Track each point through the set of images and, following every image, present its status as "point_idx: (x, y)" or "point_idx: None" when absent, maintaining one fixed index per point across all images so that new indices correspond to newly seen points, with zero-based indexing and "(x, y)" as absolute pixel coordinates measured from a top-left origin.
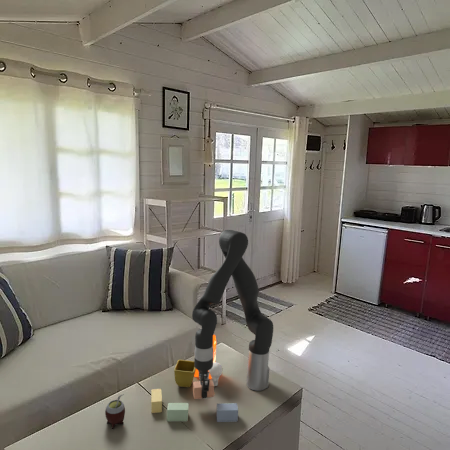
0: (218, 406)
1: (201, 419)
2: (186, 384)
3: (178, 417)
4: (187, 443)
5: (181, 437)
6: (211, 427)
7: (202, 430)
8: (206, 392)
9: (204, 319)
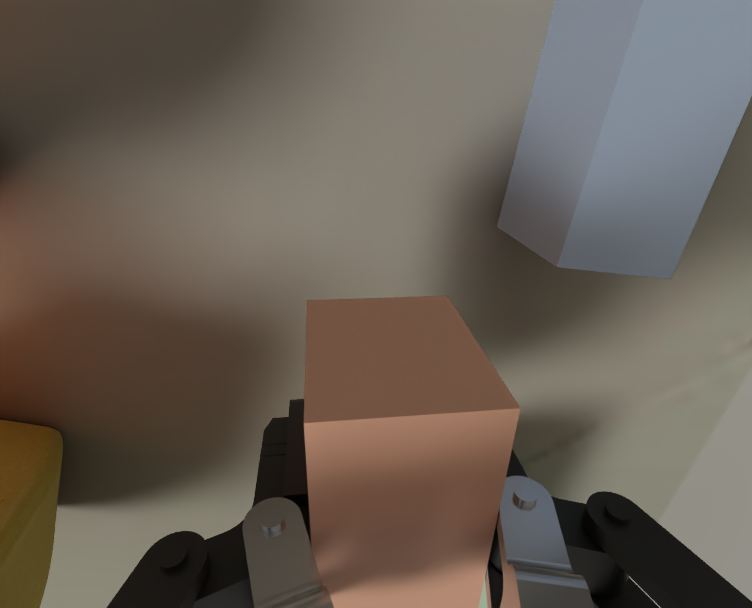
0: (614, 257)
1: (516, 357)
2: (58, 488)
3: None
4: (687, 450)
5: (627, 479)
6: (627, 293)
7: (627, 360)
8: (519, 463)
9: None
